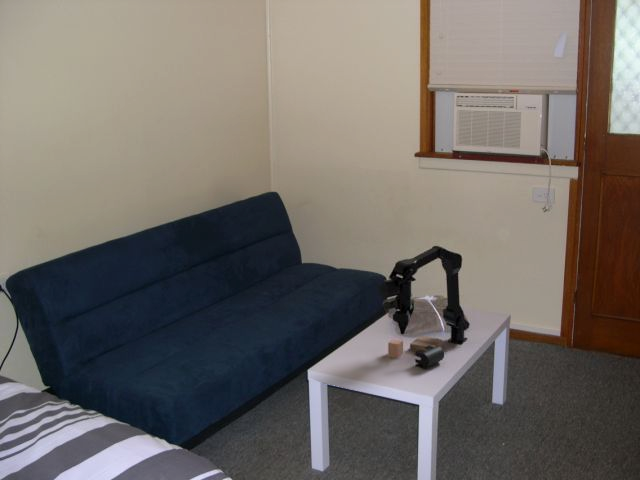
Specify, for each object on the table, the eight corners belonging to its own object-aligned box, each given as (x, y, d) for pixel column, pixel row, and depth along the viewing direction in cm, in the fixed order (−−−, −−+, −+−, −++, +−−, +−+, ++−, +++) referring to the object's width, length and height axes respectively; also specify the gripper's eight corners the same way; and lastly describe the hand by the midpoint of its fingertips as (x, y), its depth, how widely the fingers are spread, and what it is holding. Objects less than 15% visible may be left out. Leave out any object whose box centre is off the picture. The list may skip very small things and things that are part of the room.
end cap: (428, 371, 295) (428, 355, 293) (414, 366, 300) (414, 350, 298) (444, 363, 301) (444, 347, 300) (430, 358, 306) (430, 343, 305)
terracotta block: (393, 352, 314) (393, 338, 312) (403, 354, 311) (403, 340, 310) (388, 356, 310) (388, 342, 309) (398, 358, 308) (398, 344, 306)
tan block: (420, 342, 323) (420, 335, 322) (442, 346, 318) (442, 339, 317) (410, 350, 315) (410, 343, 314) (432, 355, 310) (432, 348, 309)
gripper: (388, 284, 312) (388, 320, 316) (379, 299, 294) (380, 337, 298) (415, 286, 309) (415, 322, 313) (408, 301, 291) (408, 339, 295)
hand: (404, 330), depth 305 cm, fingers open, 9 cm apart
